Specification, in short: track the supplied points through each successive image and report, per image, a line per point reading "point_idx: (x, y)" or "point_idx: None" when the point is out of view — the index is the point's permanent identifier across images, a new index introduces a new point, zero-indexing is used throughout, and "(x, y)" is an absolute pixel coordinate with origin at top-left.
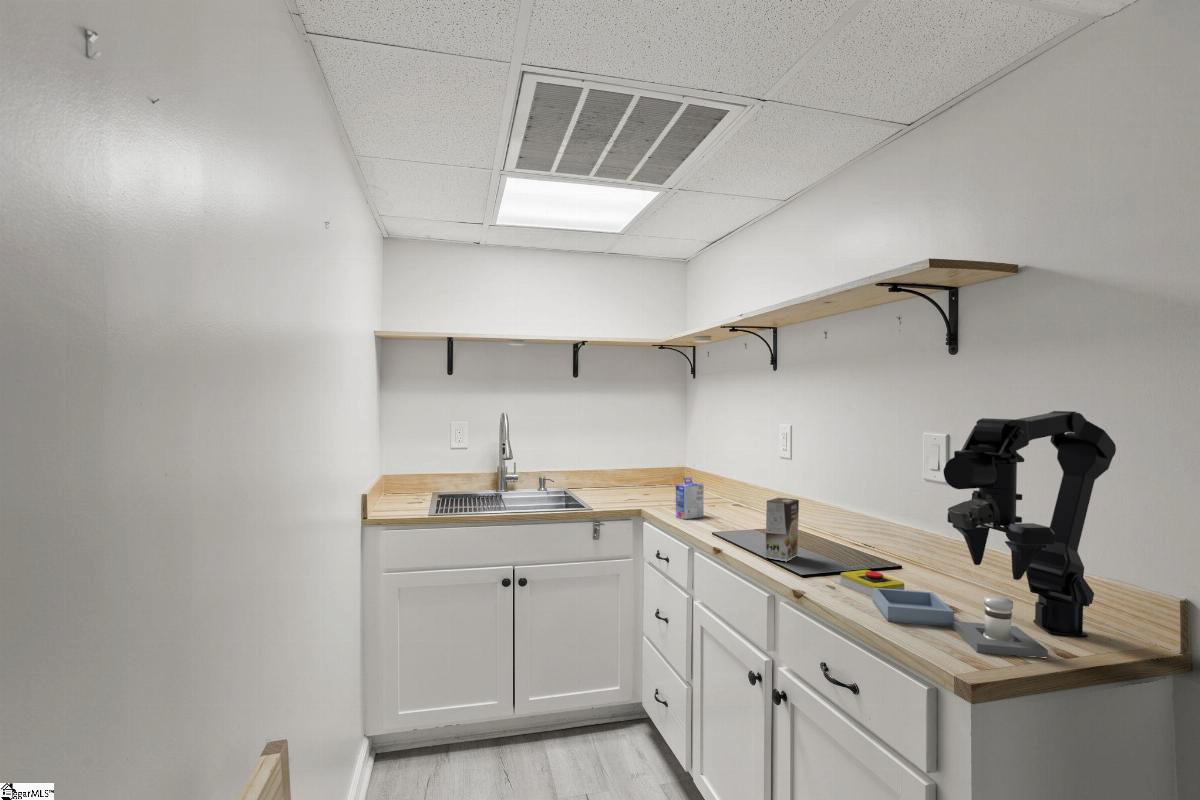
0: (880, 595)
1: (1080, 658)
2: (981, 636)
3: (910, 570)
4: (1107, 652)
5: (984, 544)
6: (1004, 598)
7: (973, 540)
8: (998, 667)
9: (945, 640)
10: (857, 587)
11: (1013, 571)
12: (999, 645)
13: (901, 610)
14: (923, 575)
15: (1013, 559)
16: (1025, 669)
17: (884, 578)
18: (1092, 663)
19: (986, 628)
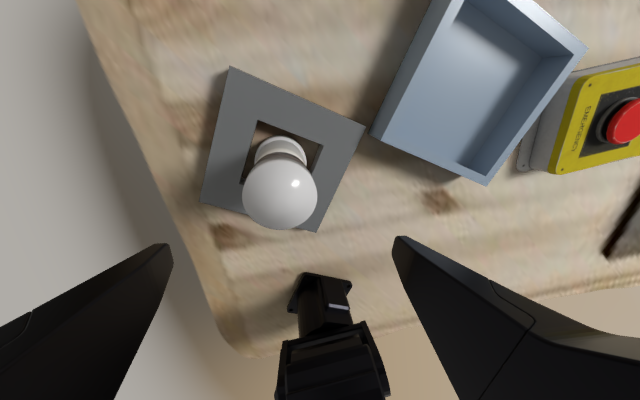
0: (542, 16)
1: (210, 247)
2: (274, 118)
3: (586, 259)
4: (235, 296)
5: (443, 357)
6: (286, 221)
7: (494, 335)
8: (145, 45)
9: (306, 44)
10: (617, 64)
11: (132, 263)
12: (219, 117)
13: (445, 3)
14: (560, 263)
15: (36, 324)
16: (143, 107)
17: (599, 148)
18: (190, 250)
19: (285, 145)
